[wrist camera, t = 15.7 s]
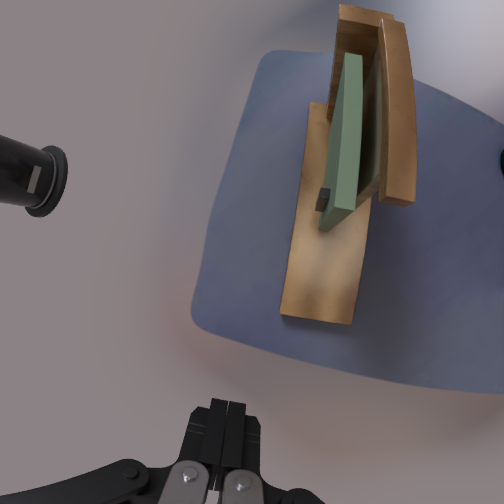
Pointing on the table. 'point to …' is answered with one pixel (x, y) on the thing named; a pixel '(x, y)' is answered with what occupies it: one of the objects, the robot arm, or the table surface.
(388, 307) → the table surface
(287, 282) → the door frame
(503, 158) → the soda can
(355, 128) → the door
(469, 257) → the table surface
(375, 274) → the table surface
